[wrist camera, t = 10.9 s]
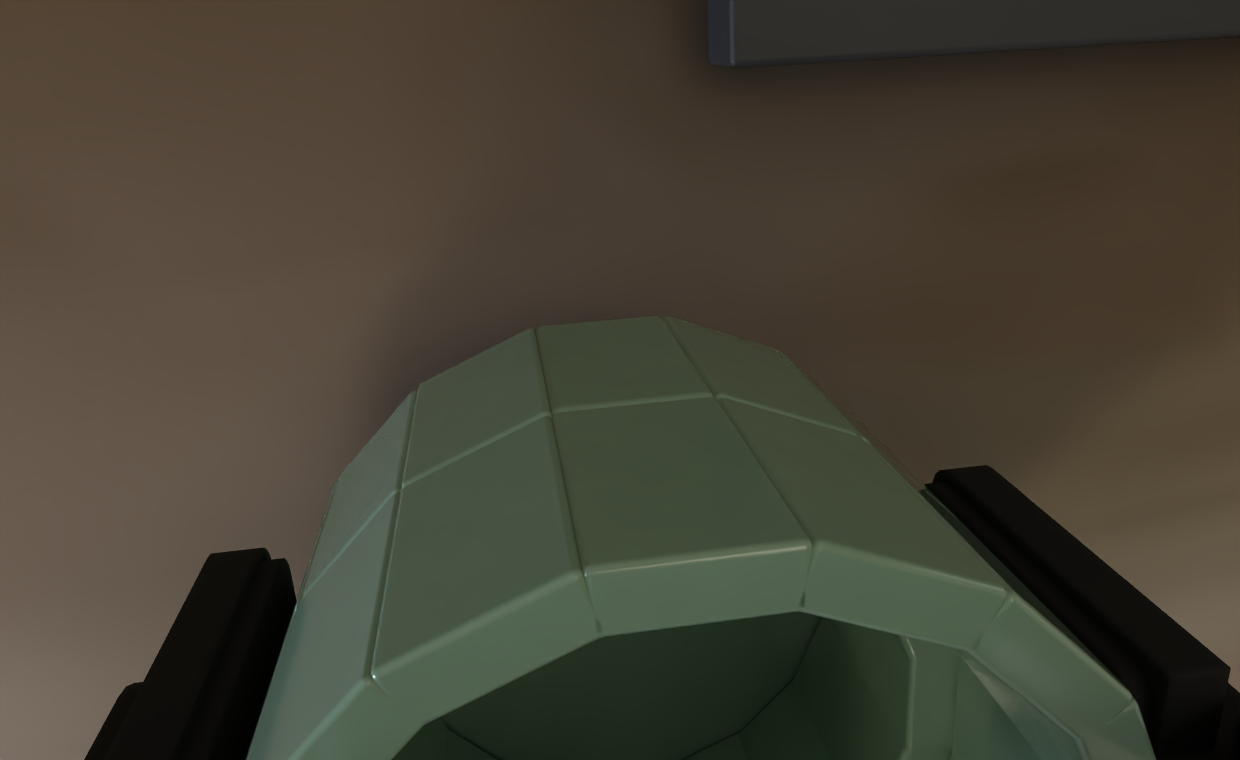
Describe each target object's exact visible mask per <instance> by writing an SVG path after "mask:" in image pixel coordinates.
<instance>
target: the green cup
mask: <svg viewBox="0 0 1240 760" xmlns="http://www.w3.org/2000/svg"><path fill="white" fill-rule="evenodd" d="M246 760H1156V757H1155V754H1154V751H1153V748H1152V745H1151V742H1150V739H1149V736H1148V733H1147V730H1146V727H1145V724H1144V721H1143V718H1142V715H1141V712H1140V709H1139V706H1138V703H1137V701H1136V700H1135V699H1134V698H1133V697H1132V695H1131V693H1130V690H1129V689H1128V688H1127V687H1126V686H1125V685H1124V684H1123V683H1122V682H1121V681H1120V680H1119V679H1118V678H1117V677H1116V676H1115V675H1114V674H1113V673H1112V672H1111V671H1110V670H1109V669H1108V668H1107V667H1106V666H1105V665H1104V664H1103V663H1102V662H1101V661H1100V660H1099V659H1098V658H1097V657H1096V656H1095V655H1094V654H1093V653H1092V652H1091V651H1090V650H1089V649H1088V648H1087V647H1086V646H1085V645H1084V644H1083V643H1082V642H1081V641H1080V640H1079V639H1078V638H1077V637H1076V636H1075V635H1074V634H1073V633H1072V632H1071V631H1070V630H1069V629H1068V628H1067V627H1066V626H1065V625H1064V624H1063V623H1062V622H1061V621H1060V620H1059V619H1058V618H1057V617H1056V616H1055V615H1054V614H1053V613H1052V612H1051V611H1050V610H1049V609H1048V608H1047V607H1046V606H1045V605H1044V604H1043V603H1042V602H1041V601H1040V600H1039V599H1038V598H1037V597H1036V596H1035V595H1034V594H1033V593H1032V592H1031V591H1030V590H1029V589H1028V588H1027V587H1026V586H1025V585H1024V584H1023V583H1022V582H1021V581H1020V580H1019V579H1018V578H1017V577H1016V576H1015V575H1014V574H1013V573H1012V572H1011V571H1010V570H1009V569H1008V568H1007V567H1006V566H1005V565H1004V564H1003V563H1002V562H1001V561H1000V560H999V559H998V558H997V557H996V556H995V555H994V554H993V553H992V552H991V551H990V550H989V549H988V548H987V547H986V546H985V545H984V544H983V543H982V542H981V541H980V540H979V539H978V538H977V537H976V536H975V535H974V534H973V533H972V532H971V531H970V530H969V529H968V528H967V527H966V526H965V525H964V524H963V523H962V522H960V521H959V520H958V519H957V517H956V516H955V515H954V514H953V513H952V512H951V511H950V510H949V509H948V508H947V507H946V506H945V505H944V504H943V503H942V502H941V501H940V500H939V499H938V498H937V497H936V496H935V495H934V494H933V493H932V492H931V491H930V490H929V489H928V488H927V487H926V486H925V485H924V484H923V483H922V482H921V481H920V480H919V479H918V478H917V477H916V476H915V475H914V474H913V473H912V472H911V471H910V470H909V469H908V468H907V467H906V466H905V465H904V464H903V463H902V462H901V461H900V460H899V459H898V458H897V457H896V456H895V455H894V454H893V453H892V452H891V451H890V450H889V449H888V448H887V447H886V446H885V445H884V444H883V443H882V442H881V441H880V440H879V439H878V438H877V437H876V436H875V435H874V434H873V433H872V432H871V431H870V430H869V429H868V428H867V427H866V426H865V425H864V424H863V423H862V422H861V421H860V420H859V419H858V418H856V417H855V416H854V415H853V414H852V413H851V412H850V411H849V410H847V409H846V408H845V407H844V406H843V405H842V404H841V403H839V402H838V401H837V400H836V399H835V398H834V397H833V396H832V395H830V394H829V393H828V392H827V391H826V390H825V389H824V388H822V387H821V386H820V385H819V384H818V383H817V382H816V381H815V380H813V379H812V378H811V377H810V376H809V375H808V374H807V373H805V372H804V371H803V370H802V369H801V368H800V367H799V366H798V365H796V364H795V363H794V362H793V361H792V360H791V359H790V358H789V357H787V356H786V355H785V354H784V353H782V352H778V351H777V350H776V349H774V348H771V347H768V346H765V345H761V344H758V343H755V342H752V341H748V340H745V339H742V338H739V337H735V336H732V335H729V334H726V333H722V332H719V331H716V330H713V329H709V328H706V327H703V326H700V325H696V324H693V323H690V322H687V321H683V320H680V319H677V318H674V317H670V316H667V317H664V318H662V317H659V316H646V317H635V318H624V319H613V320H602V321H591V322H581V323H570V324H559V325H548V326H541V327H539V328H537V329H536V330H534V329H533V328H531V329H527V330H525V331H523V332H521V333H519V334H517V335H515V336H513V337H511V338H509V339H507V340H505V341H503V342H501V343H499V344H497V345H495V346H493V347H491V348H489V349H487V350H485V351H483V352H481V353H479V354H477V355H475V356H473V357H472V358H470V359H468V360H466V361H464V362H462V363H460V364H458V365H456V366H454V367H452V368H450V369H448V370H446V371H444V372H442V373H440V374H438V375H436V376H434V377H432V378H430V379H428V380H426V381H424V382H422V383H421V384H420V385H419V386H418V390H417V389H416V390H414V391H412V392H411V393H410V394H409V395H408V396H407V397H406V399H405V400H404V401H403V402H402V403H401V404H400V406H399V407H398V408H397V409H396V410H395V411H394V413H393V414H392V415H391V416H390V417H389V418H388V420H387V421H386V422H385V423H384V424H383V425H382V427H381V428H380V429H379V430H378V431H377V432H376V434H375V435H374V436H373V437H372V438H371V439H370V441H369V442H368V443H367V444H366V445H365V446H364V448H363V449H362V450H361V451H360V452H359V453H358V455H357V456H356V457H355V458H354V459H353V460H352V462H351V463H350V464H349V465H348V466H347V467H346V469H345V470H344V471H343V472H342V473H341V474H340V476H339V479H338V481H336V482H335V483H334V486H333V489H332V492H331V495H330V498H329V501H328V504H327V507H326V511H325V514H324V517H323V520H322V523H321V526H320V529H319V532H318V536H317V539H316V542H315V545H314V548H313V551H312V554H311V557H310V561H309V564H308V567H307V570H306V573H305V576H304V579H303V582H302V586H301V589H300V592H299V595H298V598H297V601H296V604H295V607H294V611H293V615H292V617H291V620H290V623H289V626H288V629H287V632H286V636H285V639H284V642H283V645H282V648H281V651H280V654H279V657H278V661H277V664H276V667H275V670H274V673H273V676H272V679H271V682H270V686H269V689H268V692H267V695H266V698H265V701H264V704H263V707H262V711H261V714H260V717H259V720H258V723H257V726H256V729H255V732H254V735H253V739H252V742H251V745H250V748H249V751H248V754H247V757H246Z"/></svg>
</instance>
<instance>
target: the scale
mask: <svg viewBox="0 0 1240 760" xmlns="http://www.w3.org/2000/svg"><path fill="white" fill-rule="evenodd" d="M707 9H708V55H709V61H710V63H711V64H713V65H716V66H724V67H732V68H744V67H761V66H777V65H793V64H809V63H825V62H841V61H857V60H874V59H890V58H906V57H922V56H938V55H954V54H970V53H986V52H1003V51H1019V50H1035V49H1051V48H1067V47H1083V46H1099V45H1115V44H1132V43H1148V42H1164V41H1180V40H1196V39H1212V38H1228V37H1240V0H707Z"/></svg>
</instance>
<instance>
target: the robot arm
mask: <svg viewBox="0 0 1240 760" xmlns="http://www.w3.org/2000/svg"><path fill="white" fill-rule="evenodd" d="M925 486H926V487H927V488H928V489H929V490H930V491H931V492H932V493H933V494H934V495H935V496H936V497H937V498H938V499H939V500H940V501H941V502H942V503H943V504H944V505H945V506H946V507H947V508H948V509H949V510H950V511H951V512H952V513H953V514H954V515H955V516H956V517H957V519H958V520H959V521H960V522H962V523H963V524H964V525H965V526H966V527H967V528H968V529H969V530H970V531H971V532H972V533H973V534H974V535H975V536H976V537H977V538H978V539H979V540H980V541H981V542H982V543H983V544H984V545H985V546H986V547H987V548H988V549H989V550H990V551H991V552H992V553H993V554H994V555H995V556H996V557H997V558H998V559H999V560H1000V561H1001V562H1002V563H1003V564H1004V565H1005V566H1006V567H1007V568H1008V569H1009V570H1010V571H1011V572H1012V573H1013V574H1014V575H1015V576H1016V577H1017V578H1018V579H1019V580H1020V581H1021V582H1022V583H1023V584H1024V585H1025V586H1026V587H1027V588H1028V589H1029V590H1030V591H1031V592H1032V593H1033V594H1034V595H1035V596H1036V597H1037V598H1038V599H1039V600H1040V601H1041V602H1042V603H1043V604H1044V605H1045V606H1046V607H1047V608H1048V609H1049V610H1050V611H1051V612H1052V613H1053V614H1054V615H1055V616H1056V617H1057V618H1058V619H1059V620H1060V621H1061V622H1062V623H1063V624H1064V625H1065V626H1066V627H1067V628H1068V629H1069V630H1070V631H1071V632H1072V633H1073V634H1074V635H1075V636H1076V637H1077V638H1078V639H1079V640H1080V641H1081V642H1082V643H1083V644H1084V645H1085V646H1086V647H1087V648H1088V649H1089V650H1090V651H1091V652H1092V653H1093V654H1094V655H1095V656H1096V657H1097V658H1098V659H1099V660H1100V661H1101V662H1102V663H1103V664H1104V665H1105V666H1106V667H1107V668H1108V669H1109V670H1110V671H1111V672H1112V673H1113V674H1114V675H1115V676H1116V677H1117V678H1118V679H1119V680H1120V681H1121V682H1122V683H1123V684H1124V685H1125V686H1126V687H1127V688H1128V689H1129V690H1130V693H1131V695H1132V697H1133V698H1134V699H1135V700H1136V701H1137V703H1138V706H1139V709H1140V712H1141V715H1142V718H1143V721H1144V724H1145V727H1146V730H1147V733H1148V736H1149V739H1150V742H1151V745H1152V748H1153V751H1154V754H1155V757H1156V760H1240V693H1239V692H1238V691H1237V690H1236V689H1235V688H1233V687H1232V686H1231V685H1230V684H1229V683H1228V679H1229V674H1230V669H1231V668H1230V667H1229V666H1228V665H1227V664H1225V663H1224V662H1223V661H1222V660H1221V659H1219V658H1218V657H1217V656H1216V655H1215V654H1213V653H1212V652H1211V651H1210V650H1209V649H1208V648H1206V647H1205V646H1204V645H1203V644H1202V643H1200V642H1199V641H1198V640H1197V639H1196V638H1194V637H1193V636H1192V635H1191V634H1190V633H1188V632H1187V631H1186V630H1185V629H1184V628H1182V627H1181V626H1180V625H1179V624H1178V623H1176V622H1175V621H1174V620H1173V619H1172V618H1171V617H1169V616H1168V615H1167V614H1166V613H1165V612H1163V611H1162V610H1161V609H1160V608H1159V607H1157V606H1156V605H1155V604H1154V603H1153V602H1151V601H1150V600H1149V599H1148V598H1147V597H1145V596H1144V595H1143V594H1142V593H1141V592H1139V591H1138V590H1137V589H1136V588H1135V587H1134V586H1132V585H1131V584H1130V583H1129V582H1128V581H1126V580H1125V579H1124V578H1123V577H1122V576H1120V575H1119V574H1118V573H1117V572H1116V571H1114V570H1113V569H1112V568H1111V567H1110V566H1108V565H1107V564H1106V563H1105V562H1104V561H1102V560H1101V559H1100V558H1099V557H1098V556H1097V555H1095V554H1094V553H1093V552H1092V551H1091V550H1089V549H1088V548H1087V547H1086V546H1085V545H1083V544H1082V543H1081V542H1080V541H1079V540H1077V539H1076V538H1075V537H1074V536H1073V535H1071V534H1070V533H1069V532H1068V531H1067V530H1065V529H1064V528H1063V527H1062V526H1061V525H1060V524H1058V523H1057V522H1056V521H1055V520H1054V519H1052V518H1051V517H1050V516H1049V515H1048V514H1046V513H1045V512H1044V511H1043V510H1042V509H1040V508H1039V507H1038V506H1037V505H1036V504H1034V503H1033V502H1032V501H1031V500H1030V499H1028V498H1027V497H1026V496H1025V495H1024V494H1023V493H1021V492H1020V491H1019V490H1018V489H1017V488H1015V487H1014V486H1013V485H1012V484H1011V483H1009V482H1008V481H1007V480H1006V479H1005V478H1003V477H1002V476H1001V475H1000V474H999V473H997V472H996V471H995V470H994V469H993V468H991V467H989V466H987V465H983V466H974V467H965V468H957V469H948V470H939V471H938V472H937V473H936V474H935V477H934V479H933V482H932V483H930V484H925ZM295 604H296V597H295V592H294V586H293V581H292V576H291V572H290V568H289V564H288V562H287V560H286V559H285V558H282V559H274V560H271V557H270V555H269V552H268V551H267V550H266V549H265V548H256V549H247V550H239V551H230V552H221V553H213V554H210V555H209V557H208V558H207V560H206V562H205V564H204V566H203V567H202V569H201V571H200V573H199V575H198V577H197V579H196V581H195V583H194V585H193V587H192V589H191V591H190V593H189V595H188V596H187V598H186V600H185V602H184V604H183V606H182V608H181V610H180V612H179V614H178V616H177V618H176V620H175V622H174V624H173V625H172V627H171V629H170V631H169V633H168V635H167V637H166V639H165V641H164V643H163V645H162V647H161V649H160V651H159V653H158V654H157V656H156V658H155V660H154V662H153V664H152V666H151V668H150V670H149V672H148V674H147V676H146V678H145V680H144V682H139V683H133V684H131V685H129V686H126V687H125V689H124V690H123V691H122V693H121V694H120V695H119V697H118V699H117V700H116V702H115V704H114V706H113V708H112V710H111V711H110V713H109V715H108V717H107V719H106V721H105V722H104V724H103V726H102V728H101V730H100V732H99V733H98V735H97V737H96V739H95V741H94V743H93V745H92V746H91V748H90V750H89V752H88V754H87V756H86V757H85V759H84V760H246V757H247V754H248V751H249V748H250V745H251V742H252V739H253V735H254V732H255V729H256V726H257V723H258V720H259V717H260V714H261V711H262V707H263V704H264V701H265V698H266V695H267V692H268V689H269V686H270V682H271V679H272V676H273V673H274V670H275V667H276V664H277V661H278V657H279V654H280V651H281V648H282V645H283V642H284V639H285V636H286V632H287V629H288V626H289V623H290V620H291V617H292V615H293V611H294V607H295Z"/></svg>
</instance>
